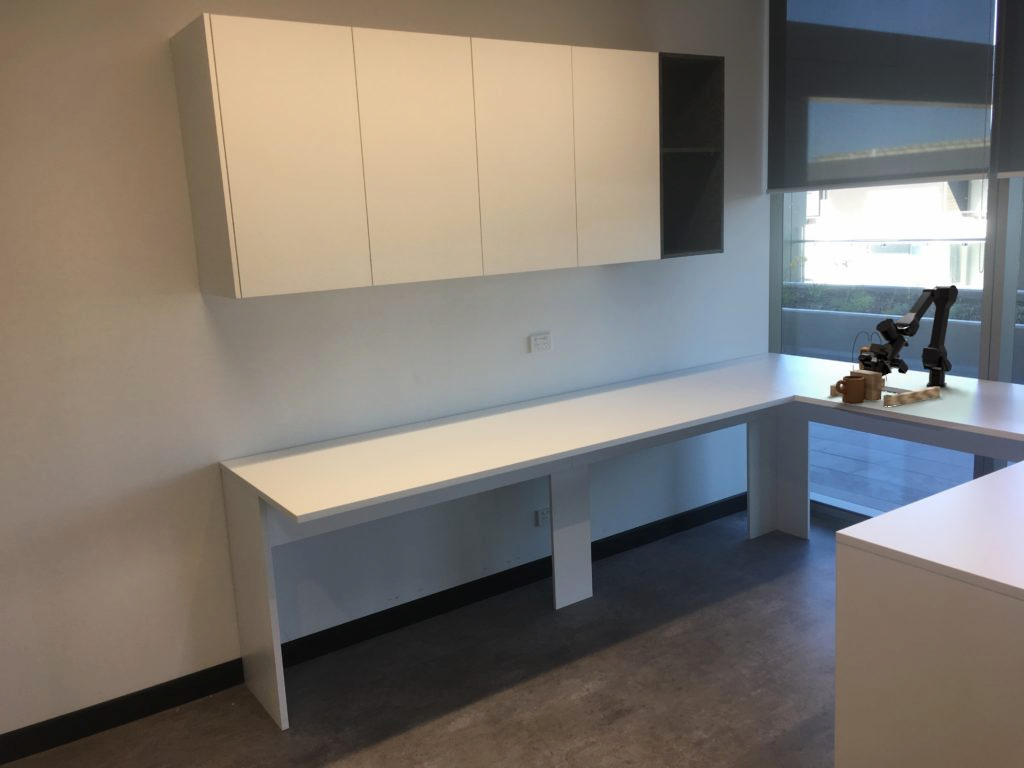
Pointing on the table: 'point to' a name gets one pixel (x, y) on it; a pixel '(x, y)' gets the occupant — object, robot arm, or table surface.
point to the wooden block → (870, 384)
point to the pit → (894, 390)
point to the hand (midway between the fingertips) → (870, 381)
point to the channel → (900, 395)
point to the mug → (852, 389)
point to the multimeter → (865, 351)
